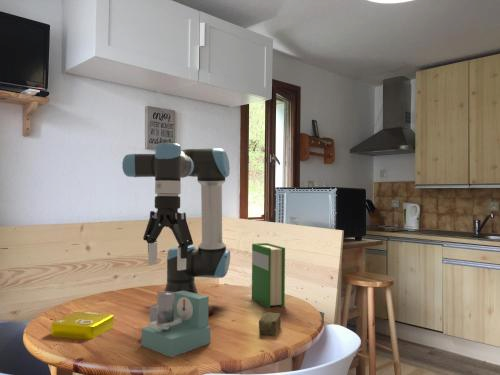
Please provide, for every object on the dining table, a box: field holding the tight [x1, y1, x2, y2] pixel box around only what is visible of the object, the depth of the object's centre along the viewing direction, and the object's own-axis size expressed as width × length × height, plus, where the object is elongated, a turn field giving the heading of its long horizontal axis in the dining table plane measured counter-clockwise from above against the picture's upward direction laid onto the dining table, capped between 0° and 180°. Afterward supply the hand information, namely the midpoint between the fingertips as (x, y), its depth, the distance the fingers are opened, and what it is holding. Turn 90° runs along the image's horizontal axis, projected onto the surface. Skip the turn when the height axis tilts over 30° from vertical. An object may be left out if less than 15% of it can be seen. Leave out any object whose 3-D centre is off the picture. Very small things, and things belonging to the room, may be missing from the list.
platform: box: [148, 316, 182, 332], centre depth 122 cm, size 9×4×3 cm, turn 140°
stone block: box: [258, 311, 282, 336], centre depth 139 cm, size 6×12×5 cm, turn 167°
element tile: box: [50, 311, 115, 340], centre depth 137 cm, size 15×15×5 cm
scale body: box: [141, 291, 211, 358], centre depth 125 cm, size 15×14×14 cm
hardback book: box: [251, 242, 286, 309], centre depth 177 cm, size 18×7×24 cm, turn 22°
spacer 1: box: [149, 304, 157, 322], centre depth 137 cm, size 5×5×8 cm
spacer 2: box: [156, 290, 175, 323], centre depth 122 cm, size 5×5×8 cm
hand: (166, 267), depth 123 cm, fingers open, 13 cm apart
